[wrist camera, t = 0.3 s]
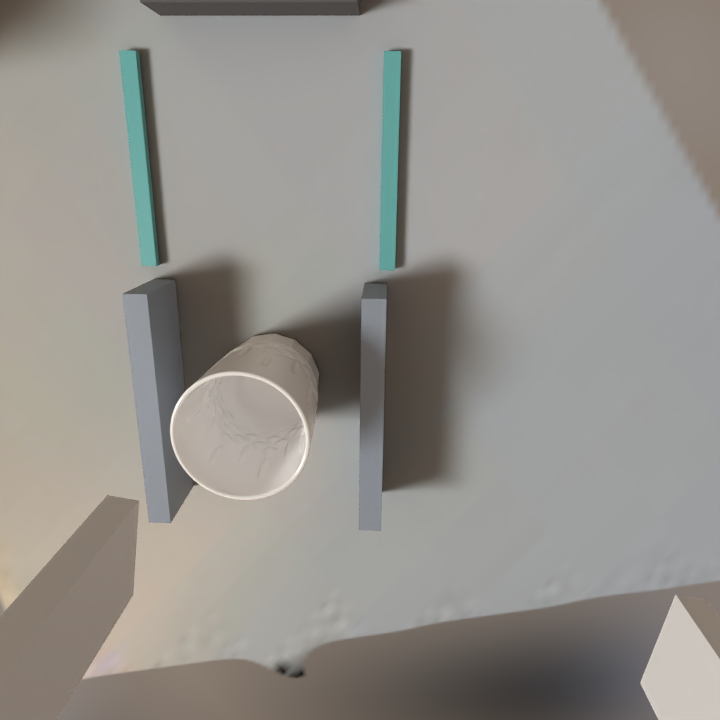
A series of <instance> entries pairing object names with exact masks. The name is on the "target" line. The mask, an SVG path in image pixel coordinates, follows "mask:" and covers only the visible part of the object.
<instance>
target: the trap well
mask: <svg viewBox="0 0 720 720" xmlns="http://www.w3.org/2000/svg"><path fill="white" fill-rule="evenodd" d="M140 2H141V3H142V4H144V5H145V6H147V7H148V8H150V9H151V10H153V11H154V12H156V13H157V14H159V15H360V0H140Z"/></svg>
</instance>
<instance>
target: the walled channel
mask: <svg viewBox="0 0 720 720" xmlns="http://www.w3.org/2000/svg"><path fill="white" fill-rule="evenodd" d="M123 302H124V311H125V319H126V328H127V336H128V345H129V354H130V362H131V371H132V379H133V388H134V397H135V405H136V414H137V422H138V431H139V440H140V448H141V457H142V465H143V474H144V483H145V491H146V500H147V508H148V517H149V522H155V523H171V521H172V520H173V518H174V517H175V515H176V513H177V512H178V510H179V509H180V507H181V505H182V504H183V502H184V500H185V499H186V497H187V496H188V494H189V492H190V491H191V489H192V487H193V479H192V478H191V477H190V476H189V475H188V474H187V473H186V471H185V470H184V469H183V467H182V466H181V464H180V463H179V461H178V459H177V457H176V455H175V453H174V450H173V447H172V443H171V436H170V424H171V418H172V414H173V411H174V408H175V406H176V404H177V402H178V400H179V399H180V397H181V396H182V395H183V393H184V392H185V384H184V373H183V361H182V350H181V338H180V327H179V315H178V304H177V292H176V281H175V280H174V279H153V280H151V281H149V282H147V283H145V284H142V285H140V286H138V287H136V288H134V289H132V290H130V291H128V292H126V293H123ZM386 306H387V284H385V283H365V285H364V289H363V294H362V298H361V384H360V475H359V530H371V531H381V510H382V469H383V428H384V387H385V346H386Z"/></svg>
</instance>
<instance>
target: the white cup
mask: <svg viewBox="0 0 720 720" xmlns="http://www.w3.org/2000/svg"><path fill="white" fill-rule="evenodd" d="M318 387H319V371H318V369H317V367H316V364H315V362H314V360H313V357H312V355H311V353H309V352H308V351H307V350H306V349H305V348H304V347H303V346H301V345H300V344H299V343H298V342H297V341H296V340H294V339H291V338H288V337H285V336H281V335H278V334H275V333H273V334H265V335H258V336H253V337H251V338H250V339H248V340H247V341H245V342H244V343H242V344H241V345H239V346H238V347H236V348H235V349H233V350H232V351H230V352H229V353H228V354H227V355H226V356H224V357H223V358H222V359H221V360H219V361H218V362H217V363H216V364H214V365H213V366H212V367H211V368H210V369H209V370H208V371H207V372H206V373H205V374H204V375H202V376H201V377H200V378H199V379H198V380H197V381H196V382H195V383H194V384H193V385H192V386H190V387H189V388H188V389H187V390H186V391H185V392H184V393H183V395H182V396H181V397H180V399H179V400H178V402H177V404H176V406H175V408H174V411H173V414H172V418H171V424H170V436H171V443H172V447H173V450H174V453H175V455H176V457H177V459H178V461H179V463H180V464H181V466H182V467H183V469H184V470H185V471H186V473H187V474H188V475H189V476H190V477H191V478H192V479H193V480H194V481H196V482H197V483H198V484H199V485H201V486H202V487H204V488H205V489H207V490H209V491H211V492H213V493H215V494H218V495H220V496H223V497H227V498H231V499H238V500H254V499H260V498H265V497H268V496H271V495H274V494H276V493H278V492H280V491H282V490H283V489H285V488H286V487H287V486H289V485H290V484H291V483H292V482H293V481H294V480H295V479H296V478H297V477H298V475H299V474H300V473H301V471H302V470H303V468H304V466H305V464H306V461H307V458H308V455H309V450H310V444H311V439H312V434H313V428H314V423H315V418H316V412H317V404H318Z"/></svg>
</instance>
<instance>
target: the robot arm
mask: <svg viewBox="0 0 720 720" xmlns="http://www.w3.org/2000/svg"><path fill="white" fill-rule="evenodd" d="M138 508H139V501H137V500H132V499H126V498H120V497H114V496H109V495H107V496H106V498H105V499H104V500H103V501H102V502H101V503H100V504H99V505H98V507H97V508H96V509H95V510H94V511H93V512H92V513H91V515H90V516H89V517H88V518H87V519H86V520H85V521H84V522H83V524H82V525H81V526H80V527H79V528H78V529H77V530H76V532H75V533H74V534H73V535H72V536H71V537H70V538H69V539H68V541H67V542H66V543H65V544H64V545H63V546H62V547H61V549H60V550H59V551H58V552H57V553H56V554H55V555H54V556H53V558H52V559H51V560H50V561H49V562H48V563H47V564H46V566H45V567H44V568H43V569H42V570H41V571H40V572H39V573H38V575H37V576H36V577H35V578H34V579H33V580H32V581H31V583H30V584H29V585H28V586H27V587H26V588H25V589H24V590H23V592H22V593H21V594H20V595H19V596H18V597H17V598H16V600H15V601H14V602H13V603H12V604H11V605H10V606H9V607H8V609H7V610H6V611H5V612H4V613H3V614H2V615H1V617H0V720H57V718H58V717H59V715H60V713H61V712H62V710H63V708H64V707H65V705H66V704H67V702H68V700H69V699H70V697H71V695H72V694H73V692H74V691H75V689H76V687H77V686H78V684H79V682H80V681H81V679H82V677H83V676H84V674H85V673H86V671H87V669H88V668H89V666H90V664H91V663H92V661H93V659H94V658H95V656H96V655H97V653H98V651H99V650H100V648H101V646H102V645H103V643H104V642H105V640H106V638H107V637H108V635H109V633H110V632H111V630H112V628H113V627H114V625H115V624H116V622H117V620H118V619H119V617H120V615H121V614H122V612H123V610H124V609H125V607H126V606H127V604H128V602H129V601H130V599H131V597H132V596H133V588H134V572H135V556H136V540H137V524H138ZM641 685H642V687H643V689H644V691H645V693H646V696H647V697H648V700H649V701H650V704H651V706H652V708H653V710H654V711H655V714H656V716H657V718H658V720H720V617H719V616H718V614H717V613H716V612H715V610H714V609H713V608H712V606H711V605H710V604H709V602H708V601H707V600H703V599H698V598H693V597H687V596H681V595H675V597H674V600H673V602H672V605H671V608H670V610H669V613H668V615H667V617H666V620H665V622H664V625H663V627H662V630H661V632H660V635H659V638H658V640H657V642H656V645H655V647H654V650H653V653H652V655H651V658H650V660H649V663H648V665H647V667H646V670H645V673H644V675H643V677H642V680H641Z"/></svg>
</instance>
